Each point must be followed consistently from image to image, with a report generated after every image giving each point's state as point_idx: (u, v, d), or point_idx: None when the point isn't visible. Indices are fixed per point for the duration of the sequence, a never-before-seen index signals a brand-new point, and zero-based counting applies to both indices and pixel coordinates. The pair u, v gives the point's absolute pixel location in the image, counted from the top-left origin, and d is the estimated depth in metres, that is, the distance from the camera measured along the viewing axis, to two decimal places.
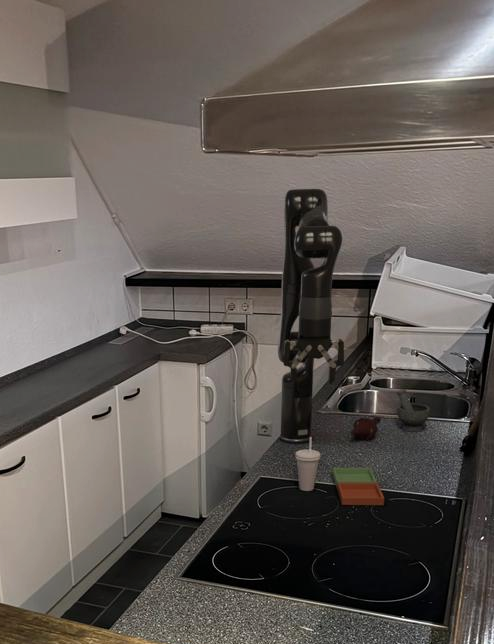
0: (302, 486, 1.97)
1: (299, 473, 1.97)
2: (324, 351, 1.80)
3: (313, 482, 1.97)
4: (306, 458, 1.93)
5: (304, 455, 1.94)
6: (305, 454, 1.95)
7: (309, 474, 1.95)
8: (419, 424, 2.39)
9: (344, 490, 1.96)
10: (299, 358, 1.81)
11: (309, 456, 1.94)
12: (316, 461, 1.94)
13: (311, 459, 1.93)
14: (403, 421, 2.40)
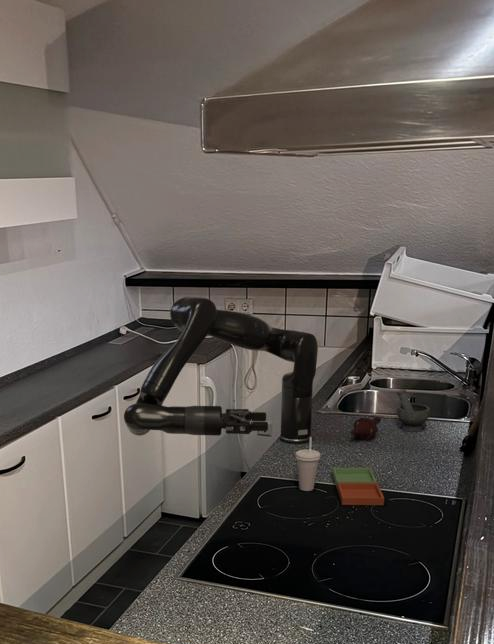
0: (302, 486, 1.97)
1: (299, 473, 1.97)
2: None
3: (313, 482, 1.97)
4: (306, 458, 1.93)
5: (304, 455, 1.94)
6: (305, 454, 1.95)
7: (309, 474, 1.95)
8: (419, 424, 2.39)
9: (344, 490, 1.96)
10: None
11: (309, 456, 1.94)
12: (316, 461, 1.94)
13: (311, 459, 1.93)
14: (403, 421, 2.40)
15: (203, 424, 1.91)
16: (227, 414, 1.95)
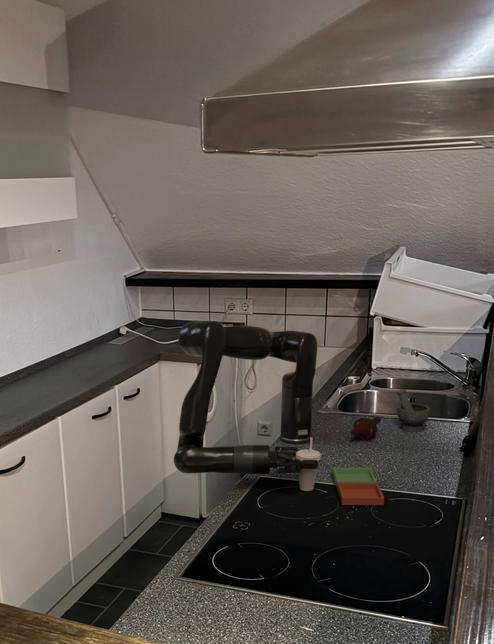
0: (302, 486, 1.97)
1: (299, 473, 1.97)
2: None
3: (313, 482, 1.97)
4: (306, 458, 1.93)
5: (304, 455, 1.94)
6: (305, 454, 1.95)
7: (309, 475, 1.95)
8: (419, 424, 2.39)
9: (344, 490, 1.96)
10: None
11: (309, 456, 1.93)
12: None
13: (311, 459, 1.93)
14: (403, 421, 2.40)
15: (252, 464, 1.94)
16: (275, 452, 1.98)
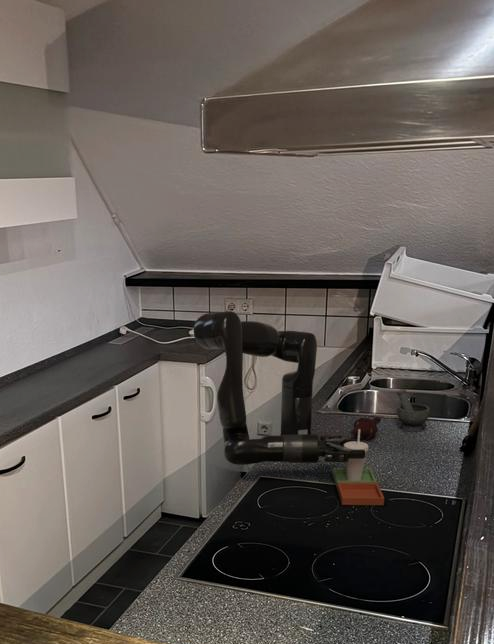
0: (350, 477, 2.01)
1: (347, 464, 2.00)
2: None
3: (361, 473, 2.01)
4: None
5: (352, 447, 1.98)
6: (353, 446, 1.99)
7: (357, 466, 1.99)
8: (419, 424, 2.39)
9: (344, 490, 1.96)
10: None
11: (358, 448, 1.97)
12: None
13: None
14: (403, 421, 2.40)
15: (301, 453, 1.97)
16: (323, 442, 2.02)
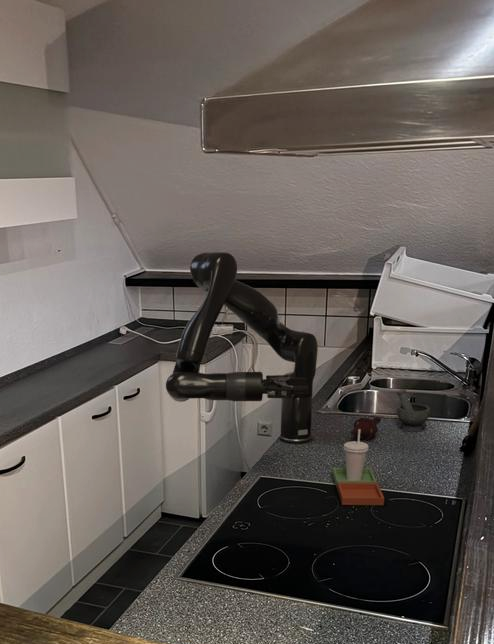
0: (350, 477, 2.01)
1: (347, 464, 2.00)
2: None
3: (361, 473, 2.01)
4: (355, 450, 1.97)
5: (353, 447, 1.98)
6: (353, 446, 1.99)
7: (357, 466, 1.99)
8: (419, 424, 2.39)
9: (344, 490, 1.96)
10: None
11: (358, 448, 1.97)
12: (364, 453, 1.98)
13: (360, 451, 1.97)
14: (403, 421, 2.40)
15: (244, 390, 1.93)
16: (268, 380, 1.97)
